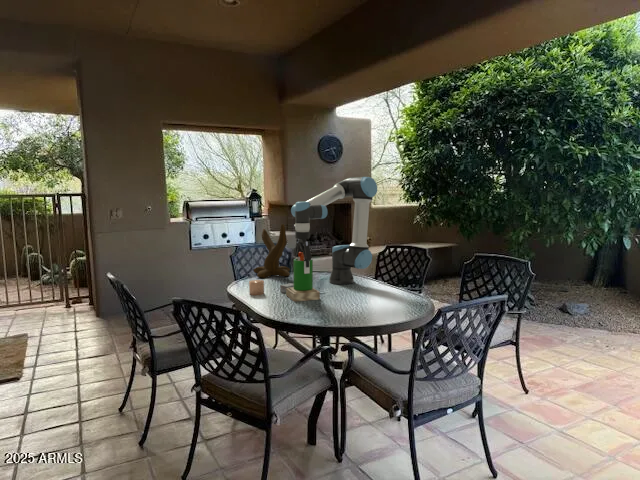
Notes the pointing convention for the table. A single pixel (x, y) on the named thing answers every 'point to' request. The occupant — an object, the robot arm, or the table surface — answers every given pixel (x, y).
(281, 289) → the grey stone block
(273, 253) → the wooden stand
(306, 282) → the motor
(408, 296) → the table surface
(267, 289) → the table surface
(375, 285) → the table surface
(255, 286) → the tan rounded cylinder
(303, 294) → the plinth
